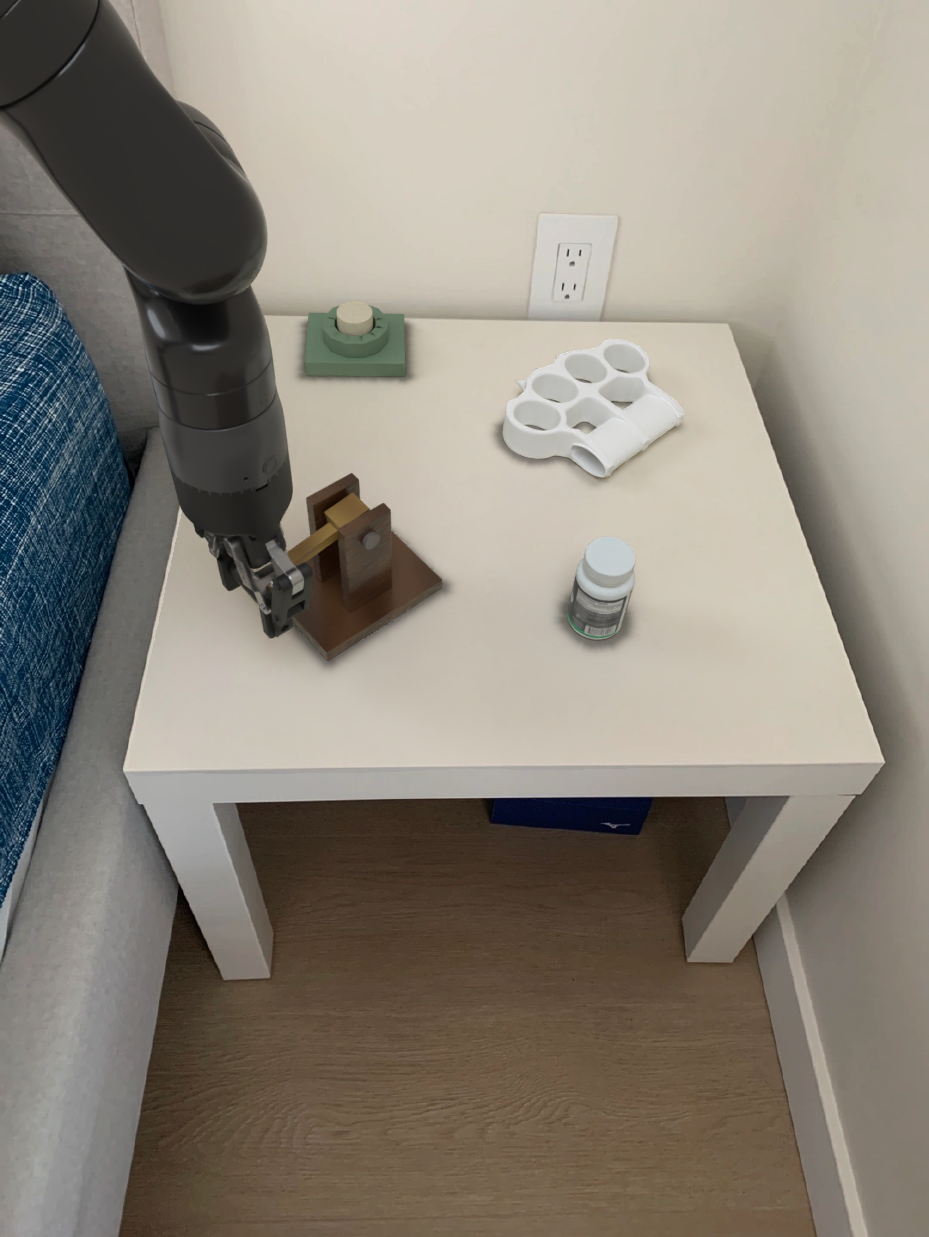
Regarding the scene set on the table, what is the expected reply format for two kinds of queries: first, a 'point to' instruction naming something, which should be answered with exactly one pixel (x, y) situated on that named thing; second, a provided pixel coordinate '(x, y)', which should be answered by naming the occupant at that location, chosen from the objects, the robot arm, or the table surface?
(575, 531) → the table surface
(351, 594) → the switch bracket
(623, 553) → the pill bottle
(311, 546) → the switch lever
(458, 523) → the table surface
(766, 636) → the table surface
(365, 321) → the button
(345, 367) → the button block
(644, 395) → the knuckle duster
